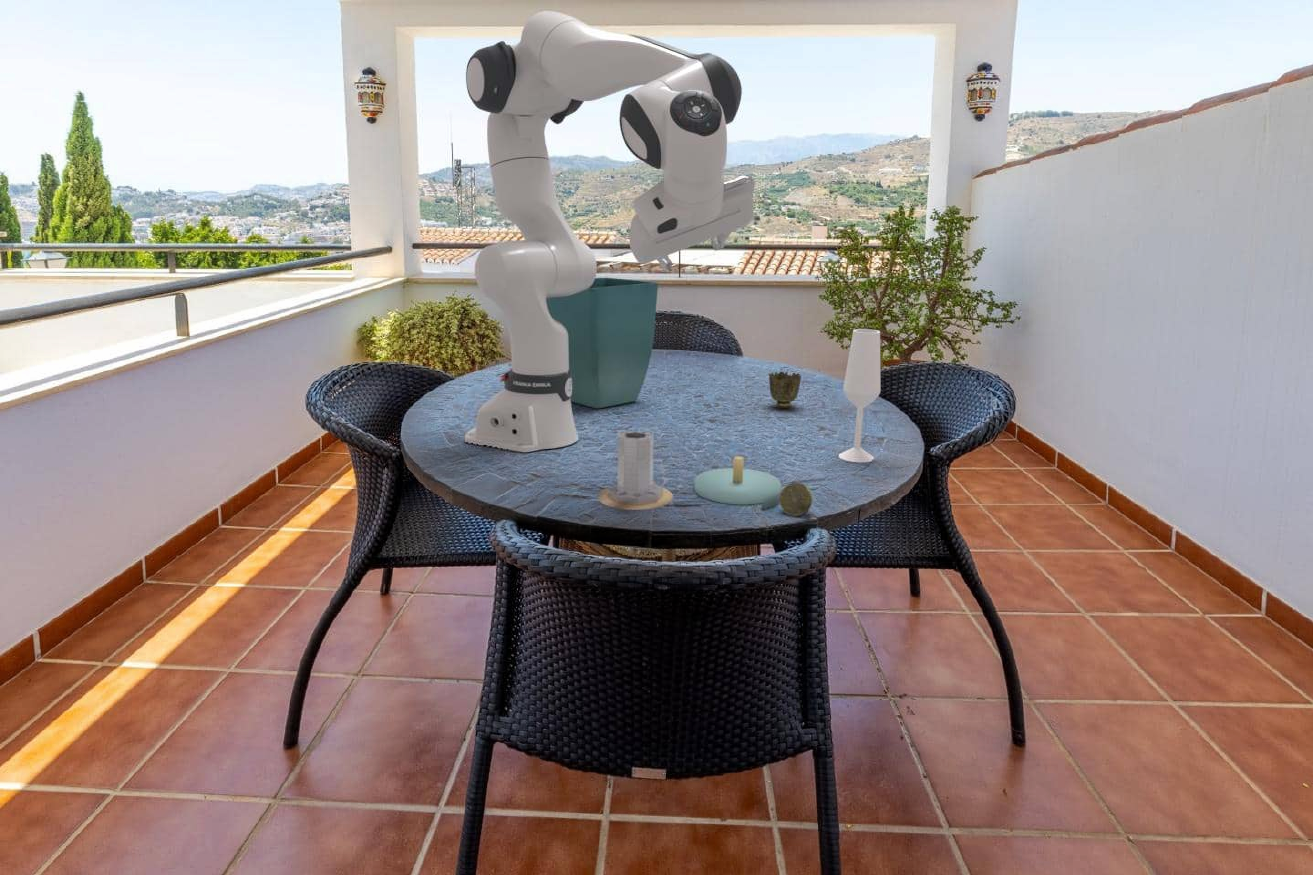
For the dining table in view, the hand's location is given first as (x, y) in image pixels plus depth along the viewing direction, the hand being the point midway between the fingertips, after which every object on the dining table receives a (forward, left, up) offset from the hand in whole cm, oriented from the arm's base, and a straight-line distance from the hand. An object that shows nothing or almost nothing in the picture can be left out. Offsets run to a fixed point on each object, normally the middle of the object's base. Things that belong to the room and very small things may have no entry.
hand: (691, 256), depth 135 cm
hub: (+10, -8, -38) cm, 40 cm away
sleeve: (-5, -16, -36) cm, 40 cm away
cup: (+10, +55, -38) cm, 68 cm away
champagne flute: (+28, +20, -38) cm, 51 cm away
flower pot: (-33, +48, -38) cm, 70 cm away
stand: (-5, -16, -38) cm, 41 cm away
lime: (+20, -13, -38) cm, 45 cm away
